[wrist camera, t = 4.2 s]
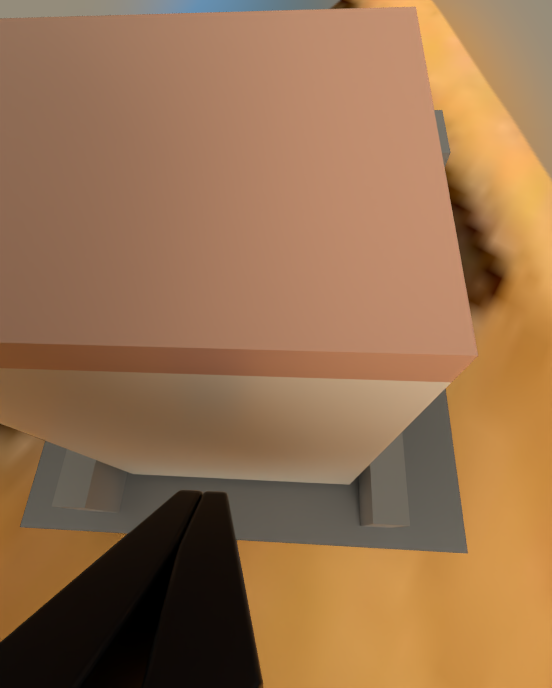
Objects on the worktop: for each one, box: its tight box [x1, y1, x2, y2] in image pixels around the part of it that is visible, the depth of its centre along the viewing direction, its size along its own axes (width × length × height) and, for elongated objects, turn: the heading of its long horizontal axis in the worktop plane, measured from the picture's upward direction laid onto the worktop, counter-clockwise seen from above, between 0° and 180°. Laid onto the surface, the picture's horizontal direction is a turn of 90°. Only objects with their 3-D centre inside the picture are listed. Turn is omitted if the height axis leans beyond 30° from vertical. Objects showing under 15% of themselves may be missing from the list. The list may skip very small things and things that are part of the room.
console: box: [20, 110, 468, 553], centre depth 14 cm, size 14×12×7 cm
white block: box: [0, 7, 478, 485], centre depth 8 cm, size 5×6×9 cm
